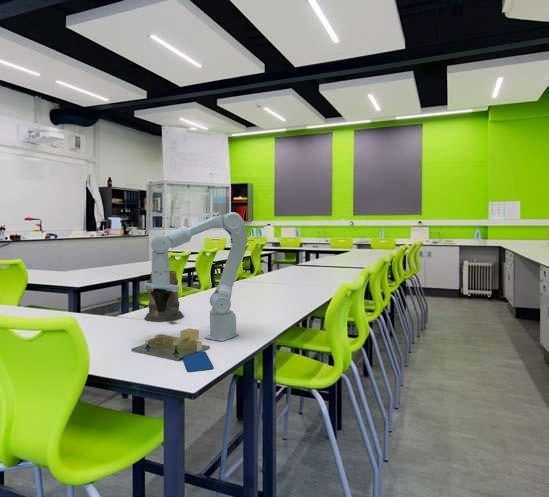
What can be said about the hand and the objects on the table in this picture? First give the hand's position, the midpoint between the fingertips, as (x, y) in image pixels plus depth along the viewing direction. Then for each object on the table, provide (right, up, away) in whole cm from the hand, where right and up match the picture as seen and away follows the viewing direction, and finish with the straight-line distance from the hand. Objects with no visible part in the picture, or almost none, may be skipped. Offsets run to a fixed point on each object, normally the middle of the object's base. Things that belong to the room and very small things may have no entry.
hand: (161, 311), depth 135 cm
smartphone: (+16, -12, -20) cm, 28 cm away
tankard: (-8, -9, +35) cm, 37 cm away
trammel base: (+5, -11, -8) cm, 15 cm away
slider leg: (+10, -10, -12) cm, 18 cm away
